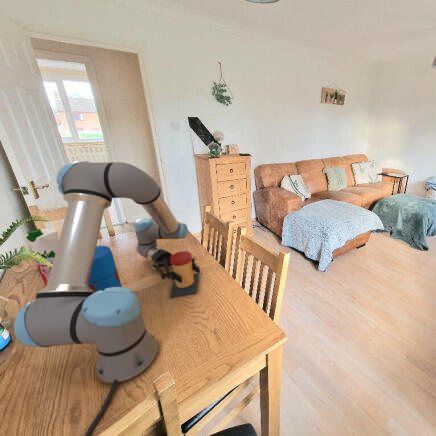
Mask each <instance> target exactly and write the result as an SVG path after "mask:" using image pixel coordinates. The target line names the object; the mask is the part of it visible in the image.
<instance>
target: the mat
mask: <svg viewBox="0 0 436 436" xmlns="http://www.w3.org/2000/svg"><path fill="white" fill-rule="evenodd" d="M193 274H194V283H193V284H192V285H190V286H188V287H185V288H179V287H177V286H176V285H175V279H174V280H173V283H172V287H171V290H170V291H171V292H170V295H169V298H177V297H183V296H189V295H197V290H198V283H199V274H200V273H197V272H195V273H193Z"/></svg>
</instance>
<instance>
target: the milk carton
mask: <svg viewBox="0 0 436 436" xmlns="http://www.w3.org/2000/svg"><path fill="white" fill-rule="evenodd" d="M58 233H59V231H58V229H47V228H42V229H40V228H34V229H30V230H27V234H25V235H23V238H24V240H25V241H26V242H27V244H28V245H29V247H30V249H31V252H32V251H34V252H39V255H41V256H42V257H44V258H45V259H46V258H51V257H53V258H54V257H55V253H56V249H57V246H58V242H59V235H58ZM36 264H38V261H36Z"/></svg>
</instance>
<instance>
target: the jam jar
mask: <svg viewBox="0 0 436 436" xmlns="http://www.w3.org/2000/svg"><path fill="white" fill-rule="evenodd" d="M171 268H172V271H173V272H175V273H176V274H178V275H179V276H181V278H182V283H180V282H178V281H177V280H175V285H176V286H177V287H179V288H185V287H188V286H190V285H192V284H193V283H194V274H195V273H194V270H193V267H192V260H191V261H190V262H189V263H188V264H185V265H182V266H175V265H171Z"/></svg>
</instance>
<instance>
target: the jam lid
mask: <svg viewBox="0 0 436 436" xmlns="http://www.w3.org/2000/svg"><path fill="white" fill-rule="evenodd" d="M192 258H193V257H192V253H191V252H189V251H177V252H175V253H173V254H172V256H171V257H170V261H171V264H172V265H175V266H182V265H185V264H188V263H189V262H190V261H191V260H192ZM172 265H171V266H172Z"/></svg>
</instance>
